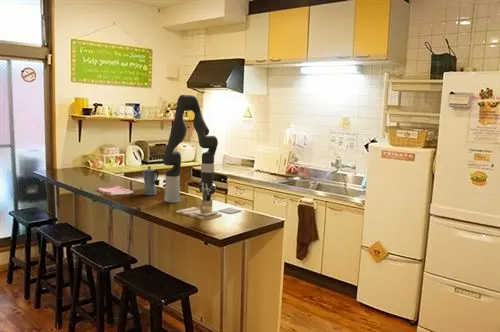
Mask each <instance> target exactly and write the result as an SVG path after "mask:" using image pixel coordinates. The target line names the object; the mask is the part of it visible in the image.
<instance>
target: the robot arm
mask: <svg viewBox="0 0 500 332" xmlns="http://www.w3.org/2000/svg"><path fill="white" fill-rule="evenodd" d="M186 111H187V112H189V111H190V112H191V111H192V112H193V114H194V117H193V122H192V124H193V128H194V130H195V132H196V135H197V138H198V144H199V146H200V147H201V148H202V149H208V150H207V151H205V152H202V154H201V166H200V179H201V180H200V182H197V185H198V190H199V193H202V194H201V195H203V191H207V201H210V200H211V199H212V195H214V194H215V193H216V189H217V188H218V186H217V185H218V184H214V179H215V155H216V152H217V149H218V144H219V141H218V138H217V136H215V135H209V133H210V129H209V127H208V126H207V125H208V124H207V123H206V121H205V120H204V116H203V113H202V110H201V107H200V104H199V101H198V98H197V97H196V96H195V95H193V94H181V95H180V96H179V97H178V98H177V103H176V107H175V114H174V119H173V123H172V127H171V128H170V133H169V138H168V142H167V144H166V147H165V149H164V152H163V157H162V162H163V165H165V166H168V167H169V166H170V167H171V166H172V167H171V168H169V169H168V170H166V171H165V186H164V202H165V203H173V204H175V203H180V199H181V198H180V194H181V193H180V192H181V187H180V186H181V185H180V184H181V182H180V181H181V180H180V178H181V176H180V175H181V170H182V169H181V166H182V165H181V164H182V155H181V153H180V151H178V150H175V149H176V148H177V147H178V146H179V145H180V144H181V143H182V142H183V140H184V139H185V137H186V133H187V131H188V130H187V128H188V127H187V124H186V122H185V120H184V113H185V112H186ZM209 191H210V193H209Z"/></svg>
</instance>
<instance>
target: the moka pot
mask: <svg viewBox="0 0 500 332" xmlns="http://www.w3.org/2000/svg"><path fill="white" fill-rule="evenodd" d="M142 177H143V182H144V186H143V187H144V189H143V195H145V196H155V195H157V187H156V184H157V183H158V178H159V172H158V170H157V169H152V168H151V166H150V165H149V166H148V167H147V169H142Z"/></svg>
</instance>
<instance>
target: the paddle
mask: <svg viewBox="0 0 500 332" xmlns="http://www.w3.org/2000/svg"><path fill="white" fill-rule="evenodd" d="M209 193H210V191H209ZM211 211H213V199H212V198H211V200H210V201H207V191H205V190H204V191H203V194H202V199H201V200H200V212H201V213H207V212H211Z"/></svg>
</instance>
